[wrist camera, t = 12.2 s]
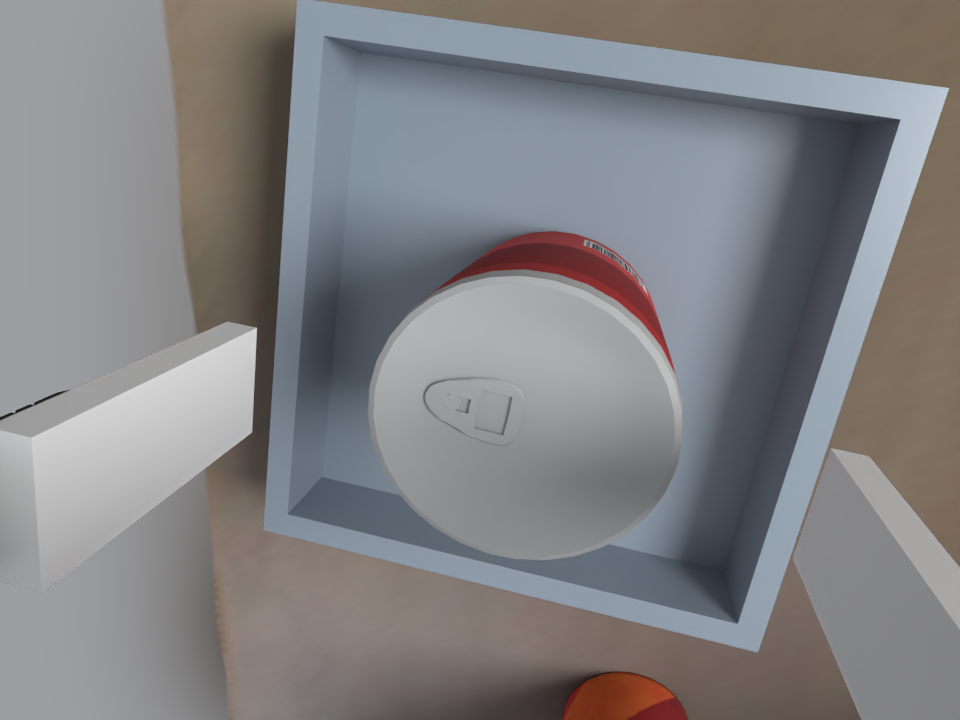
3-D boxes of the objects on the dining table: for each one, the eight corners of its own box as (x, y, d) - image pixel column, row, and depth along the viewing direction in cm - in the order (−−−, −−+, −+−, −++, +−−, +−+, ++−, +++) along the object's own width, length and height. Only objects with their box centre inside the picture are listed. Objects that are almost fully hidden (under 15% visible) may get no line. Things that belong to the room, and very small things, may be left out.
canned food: (448, 233, 27) (347, 278, 17) (657, 223, 25) (690, 266, 15) (462, 415, 29) (380, 557, 19) (656, 416, 28) (684, 571, 17)
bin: (347, 24, 26) (297, -2, 22) (889, 101, 24) (949, 88, 20) (309, 481, 33) (263, 529, 28) (736, 582, 30) (757, 652, 26)
